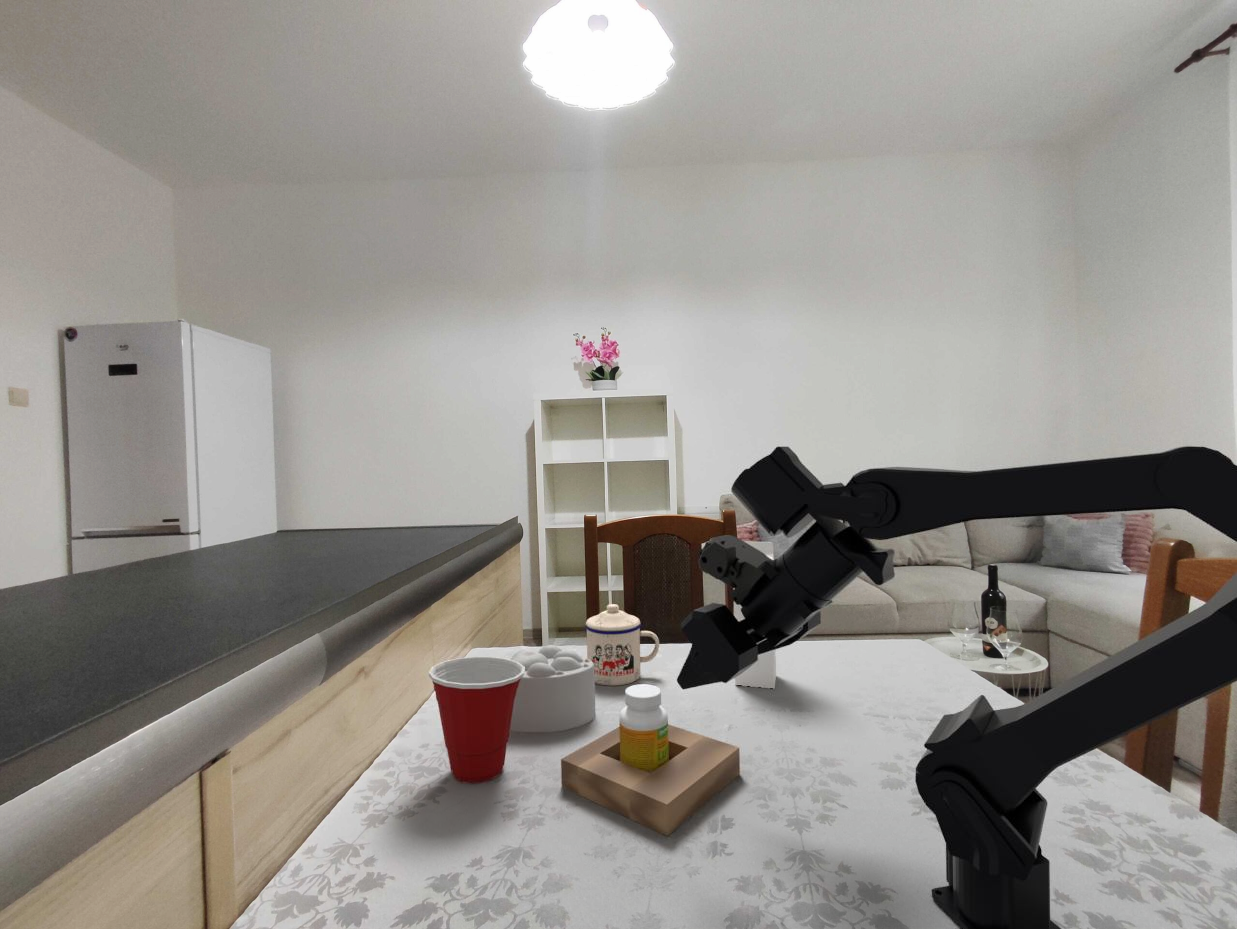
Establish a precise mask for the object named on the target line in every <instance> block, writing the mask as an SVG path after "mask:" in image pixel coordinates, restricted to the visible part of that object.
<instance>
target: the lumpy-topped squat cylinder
mask: <svg viewBox="0 0 1237 929" xmlns="http://www.w3.org/2000/svg"><path fill="white" fill-rule="evenodd" d="M506 659H509V660H513V661H516V662H519V663H520V664H522V665H523V666H524V667H525V673H524V676H523V677H522V678H521V679H520V682H519V685H518V688H517V692H516V697H515V699H514V706H513V712H512V719H511V726H510V732H519V733H520V732H521V733H552V732H553V733H554V732H562V731H567V730H572V729H575V728H579V727H581V726H584V725H586V724H588V723H590V722H591V721H592V720H594V719H595V717H596V683H595V671H594V663H593V662H592V661H591V660H589V659H587V657H585V656H583V655H579V654H578V653H577V652H576V651H573V650H570V649H567V650H566V649H565V650H562V649H561V648H560V647H558V646H557V645H553V644H548V645H544V646H542V647H541V648H540V649H539V651H533V650H526V649H525V650H520V651H517V652H516V653H514V654H513V655H511V656H509V657H507V658H506Z"/></svg>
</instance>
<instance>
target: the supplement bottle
mask: <svg viewBox="0 0 1237 929" xmlns="http://www.w3.org/2000/svg"><path fill="white" fill-rule="evenodd" d="M661 691H662V690H661V689H660V688H659V687H658V686H655V685H652V684H648V683H647V684H644V683H643V684H642V683H641V684H640V683H639V684H634V685H629V687H626V688H625V691H624V701H625V706H624V707H623V708H622V710H621V711H620V714H619V727H620V762H623V763H625V764H628V765H630V766H633V767H635V768H638V769H640V770H643V771H645V772H648V773H650V774H651V773H652V772H654V771H655V770H657V769H658V768H660V767H661V766H662V765H664V764H665V763H667V762H668V761H669V749H668V724H669V717H668V713H667V711H666V709H665V708H664V707H662V692H661Z"/></svg>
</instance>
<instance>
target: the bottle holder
mask: <svg viewBox="0 0 1237 929" xmlns="http://www.w3.org/2000/svg"><path fill="white" fill-rule="evenodd" d="M668 749H669V761H668V762H667V763H665V764H664V765H662V766H661V767H660V768H658V769H657V770H655V771H654V772H652V773H651V774H650V773H648V772H645V771H643V770H640V769H638V768H635V767H633V766H630V765H628V764H625V763H623V762H620V726H618V727H616V728H614V729H612V730H610V731H608V732H607V733H605V734H603V735H602V736H600V737H598V738H597V739H594V740H593V741H591V742H589V743H588V744H586V745H584V746H583V747H580V748H579V749H577V750H574V751H573V752H571V753H569V754H568V755H566V756H564V757H562V758H561V759H560V761H561V762H560V767H561V768H560V771H561V780H560V781H561V788H563V789H566V790H568V791H570V792H572V793H575V794H576V795H579V796H581V797H583V798H585V799H588V800H589V801H592V802H594V803H596V804H598V805H600V806H602V807H604V808H607V809H608V810H611V811H613V812H615V813H617V814H619V815H621V816H624V817H625V818H628V819H630V820H632V821H634V822H636V823H638V824H641V825H643V826H645V827H648V828H649V829H651V830H653V831H656V832H657V833H659V834H662V835H664V836H666V837H668V836H670V835H671V834H672V833H673V832H675V830H677V829H678V828H679V827H681V825H683V824H684V823H685V822H686V821H688V819H690V817H692V816H693V815H694V814H695V813H696V812H698V811H699V810H700V809H702V807H704V806H705V805H706V804H707V803H709V801H710V800H712V799H713V798H714V797H716V796H717V795H718V794H719V793H720V792H721V791H722V790H723V789H725V788H726V787H727V786H728V785H729V784H731V782H733V781H734V780H735V779H736V778H737V777H738V776H740V773H741V767H740V766H741V764H740V763H741V762H740V759H741V758H740V755H741V754H740V747H739V746H736V745H733V744H731V743H726V742H724V741H720V740H717V739H714V738H712V737H708V736H705V735H703V734H699V733H696V732H693V731H690V730H687V729H684V728H680V727H678V726H675V725H671V724H669V723H668ZM732 780H733V781H732Z"/></svg>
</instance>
